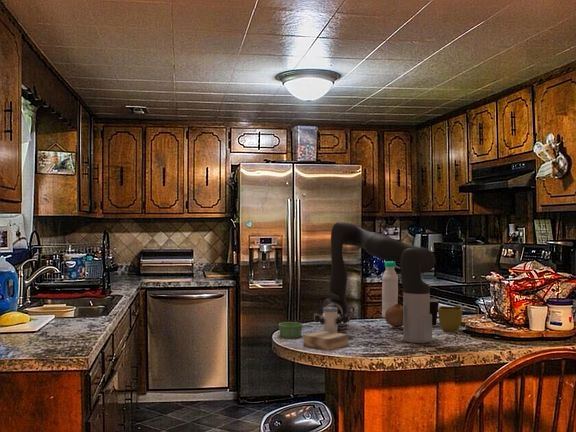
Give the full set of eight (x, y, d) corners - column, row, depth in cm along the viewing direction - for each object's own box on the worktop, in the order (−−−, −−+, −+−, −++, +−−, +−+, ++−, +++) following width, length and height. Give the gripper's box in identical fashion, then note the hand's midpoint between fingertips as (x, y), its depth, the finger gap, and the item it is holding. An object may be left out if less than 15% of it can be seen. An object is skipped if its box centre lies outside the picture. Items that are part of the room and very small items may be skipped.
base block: (348, 344, 191) (348, 334, 191) (328, 350, 183) (328, 339, 183) (323, 340, 198) (323, 330, 198) (303, 344, 190) (303, 334, 190)
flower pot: (437, 331, 215) (437, 308, 215) (440, 328, 223) (440, 305, 223) (461, 333, 211) (461, 310, 211) (462, 329, 219) (462, 307, 220)
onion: (411, 330, 217) (411, 304, 217) (387, 330, 217) (387, 304, 217) (406, 326, 227) (406, 301, 227) (383, 325, 227) (383, 301, 227)
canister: (340, 338, 202) (340, 307, 202) (331, 340, 198) (331, 309, 198) (329, 336, 205) (329, 306, 206) (320, 338, 202) (320, 307, 202)
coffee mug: (439, 326, 226) (439, 302, 226) (418, 325, 228) (418, 301, 228) (437, 321, 237) (437, 298, 237) (417, 320, 239) (417, 297, 239)
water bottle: (399, 316, 249) (399, 261, 250) (395, 319, 243) (395, 262, 243) (384, 315, 252) (384, 260, 253) (380, 318, 246) (380, 261, 246)
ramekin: (274, 337, 204) (274, 325, 204) (284, 332, 212) (284, 321, 212) (296, 339, 200) (296, 327, 200) (306, 334, 208) (306, 323, 208)
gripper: (314, 303, 217) (310, 310, 200) (351, 304, 215) (350, 311, 198) (314, 323, 217) (310, 331, 200) (351, 324, 215) (350, 332, 198)
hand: (330, 321), depth 199 cm, fingers closed on canister, 5 cm apart
